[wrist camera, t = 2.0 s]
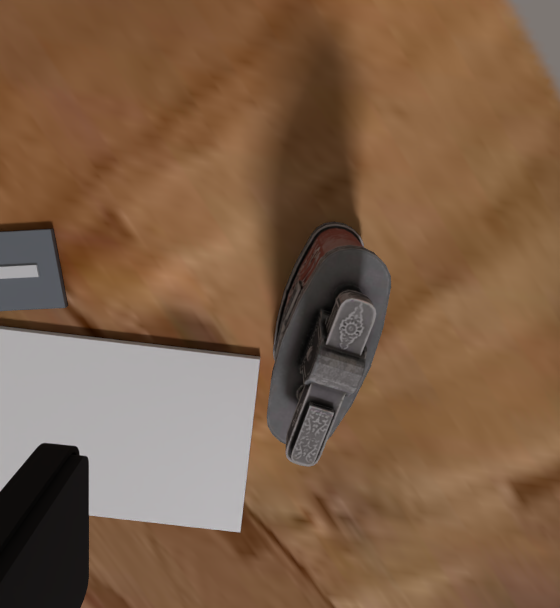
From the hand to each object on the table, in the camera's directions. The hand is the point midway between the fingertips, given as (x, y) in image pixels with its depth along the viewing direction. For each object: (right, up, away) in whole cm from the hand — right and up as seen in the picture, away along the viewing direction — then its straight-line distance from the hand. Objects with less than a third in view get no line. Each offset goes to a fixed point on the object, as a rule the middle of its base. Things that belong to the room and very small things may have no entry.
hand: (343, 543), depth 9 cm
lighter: (+1, +5, +16) cm, 17 cm away
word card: (-15, +6, +16) cm, 23 cm away
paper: (-10, -3, +19) cm, 22 cm away
